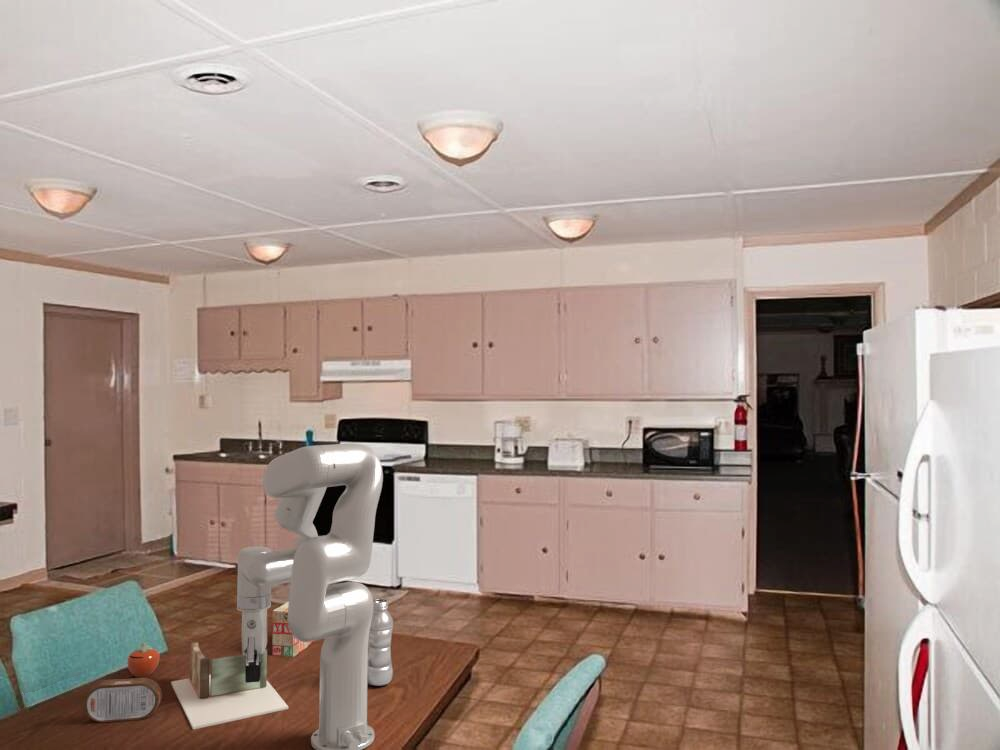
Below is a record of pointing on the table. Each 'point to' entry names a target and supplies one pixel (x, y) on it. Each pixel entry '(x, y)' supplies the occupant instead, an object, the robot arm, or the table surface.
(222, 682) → the swing panel
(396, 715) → the table surface
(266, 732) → the table surface
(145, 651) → the tomato
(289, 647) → the stack of blocks
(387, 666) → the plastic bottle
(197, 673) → the fixed fence
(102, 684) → the tin
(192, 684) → the card
